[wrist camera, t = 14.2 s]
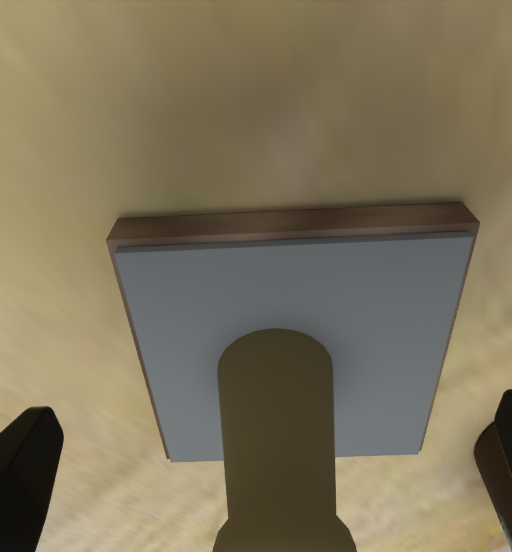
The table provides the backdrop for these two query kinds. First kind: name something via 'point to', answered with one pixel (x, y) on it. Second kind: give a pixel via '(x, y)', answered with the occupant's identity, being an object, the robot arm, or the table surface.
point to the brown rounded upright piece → (279, 445)
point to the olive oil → (496, 477)
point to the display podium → (297, 311)
